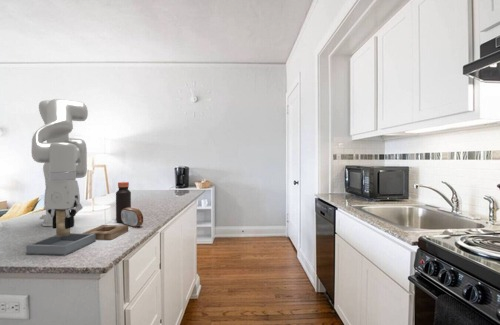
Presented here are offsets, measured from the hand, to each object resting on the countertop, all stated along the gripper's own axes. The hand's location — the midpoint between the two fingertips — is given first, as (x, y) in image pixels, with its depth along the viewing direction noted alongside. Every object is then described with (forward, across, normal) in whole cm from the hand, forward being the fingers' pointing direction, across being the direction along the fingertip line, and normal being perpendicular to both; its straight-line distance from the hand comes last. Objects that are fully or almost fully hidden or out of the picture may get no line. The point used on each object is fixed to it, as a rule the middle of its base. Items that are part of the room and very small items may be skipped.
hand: (63, 227), depth 88 cm
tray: (+7, 0, 0) cm, 7 cm away
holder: (+7, +6, +15) cm, 18 cm away
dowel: (+3, 0, 0) cm, 3 cm away
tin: (+7, +8, +30) cm, 32 cm away
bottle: (+7, 0, +37) cm, 38 cm away
